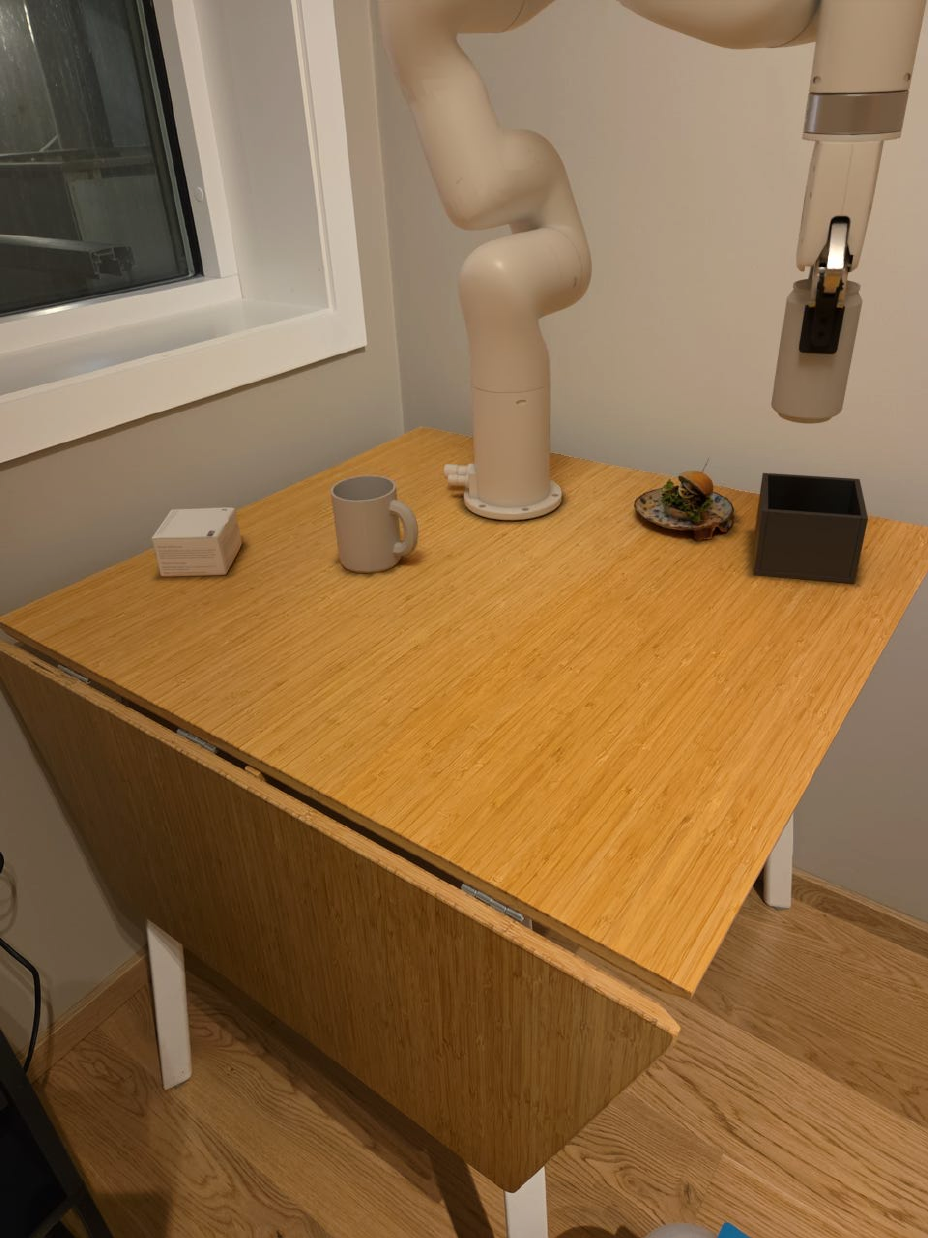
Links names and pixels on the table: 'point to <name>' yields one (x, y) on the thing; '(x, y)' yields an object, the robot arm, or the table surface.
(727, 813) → the table surface
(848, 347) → the beverage can
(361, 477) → the cup
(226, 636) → the table surface
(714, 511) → the burger on plate
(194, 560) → the small box
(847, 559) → the bin
